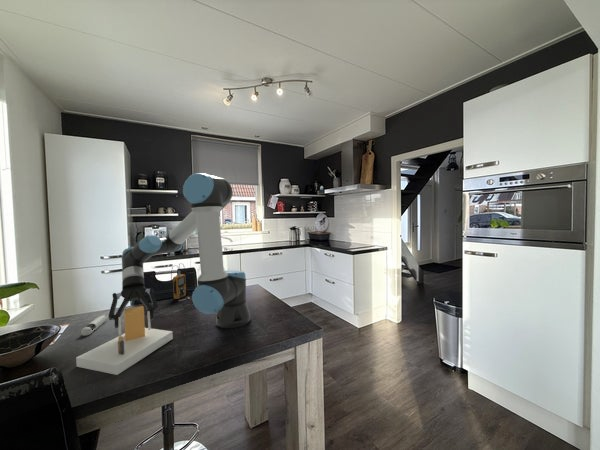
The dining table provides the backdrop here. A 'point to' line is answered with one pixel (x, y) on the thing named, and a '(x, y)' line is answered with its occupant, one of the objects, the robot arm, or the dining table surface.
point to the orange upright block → (134, 323)
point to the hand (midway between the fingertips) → (135, 331)
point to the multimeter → (179, 285)
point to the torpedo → (94, 325)
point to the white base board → (123, 352)
